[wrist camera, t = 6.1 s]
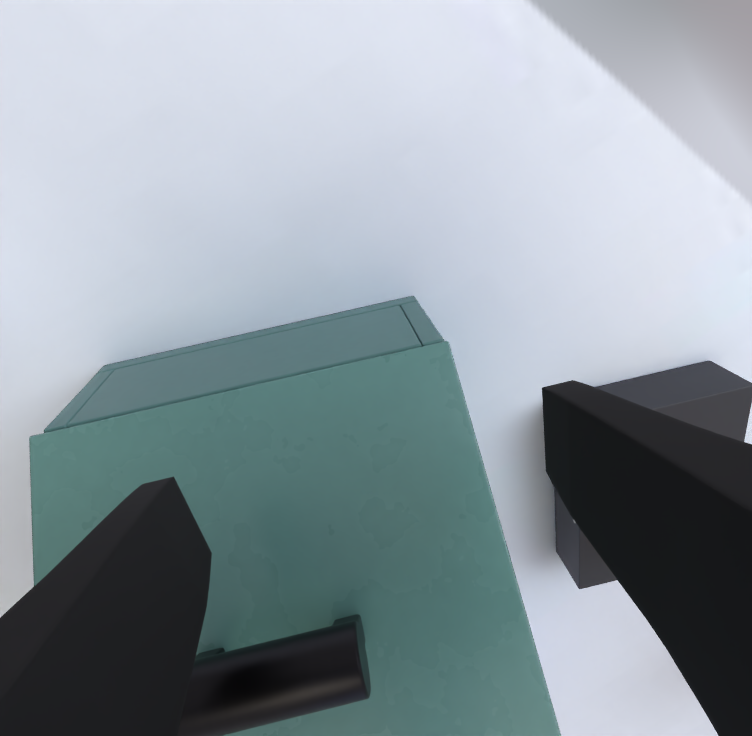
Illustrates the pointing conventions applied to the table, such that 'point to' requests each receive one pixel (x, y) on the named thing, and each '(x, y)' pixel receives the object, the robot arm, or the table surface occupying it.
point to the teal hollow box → (249, 360)
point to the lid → (324, 551)
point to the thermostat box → (678, 400)
